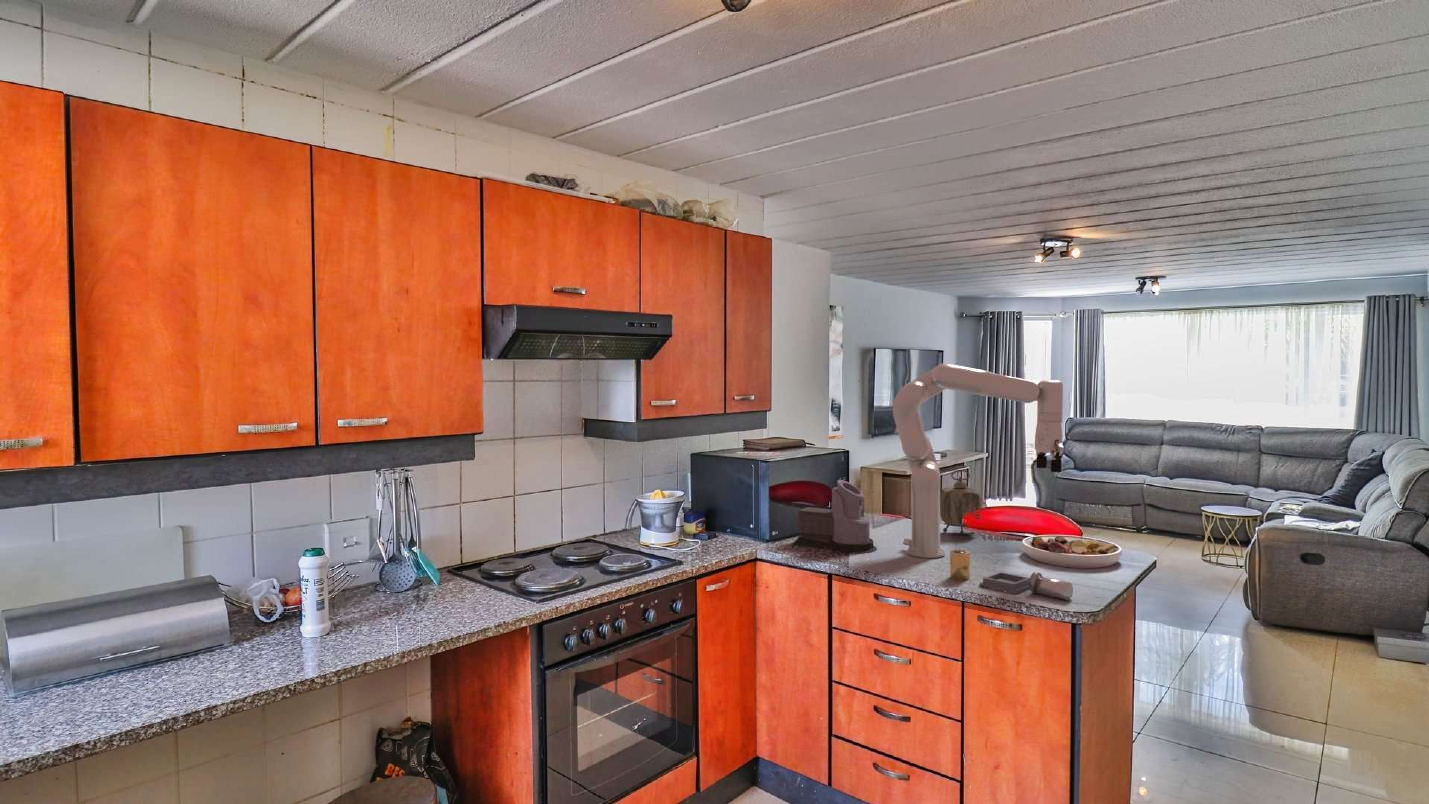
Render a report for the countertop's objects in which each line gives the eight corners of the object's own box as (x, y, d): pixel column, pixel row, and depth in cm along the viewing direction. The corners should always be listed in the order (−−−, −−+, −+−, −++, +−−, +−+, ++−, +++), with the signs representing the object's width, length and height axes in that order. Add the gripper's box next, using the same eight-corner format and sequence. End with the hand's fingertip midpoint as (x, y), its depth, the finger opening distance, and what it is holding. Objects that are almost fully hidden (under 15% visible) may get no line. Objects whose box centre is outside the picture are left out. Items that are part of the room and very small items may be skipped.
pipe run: (1028, 594, 209) (1028, 573, 209) (1038, 590, 213) (1038, 570, 213) (1064, 602, 201) (1064, 581, 201) (1073, 597, 205) (1073, 577, 205)
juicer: (883, 546, 269) (882, 479, 268) (867, 556, 255) (867, 485, 254) (807, 537, 285) (807, 474, 284) (789, 546, 271) (788, 479, 270)
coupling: (946, 578, 227) (946, 551, 226) (956, 574, 230) (956, 548, 230) (963, 581, 222) (963, 555, 222) (973, 578, 226) (973, 551, 226)
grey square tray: (979, 586, 218) (979, 577, 218) (998, 578, 225) (998, 570, 225) (1015, 594, 209) (1015, 585, 209) (1034, 586, 216) (1034, 578, 216)
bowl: (1041, 544, 270) (1041, 523, 269) (1133, 558, 249) (1133, 534, 248) (1007, 560, 248) (1007, 537, 248) (1105, 576, 227) (1105, 551, 227)
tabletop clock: (976, 531, 291) (976, 468, 290) (983, 536, 282) (983, 471, 281) (939, 531, 292) (939, 468, 291) (944, 536, 283) (944, 471, 282)
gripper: (1026, 416, 252) (1025, 466, 253) (1051, 419, 235) (1050, 473, 235) (1048, 416, 252) (1047, 466, 253) (1074, 419, 235) (1073, 473, 236)
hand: (1048, 469), depth 244 cm, fingers open, 9 cm apart
